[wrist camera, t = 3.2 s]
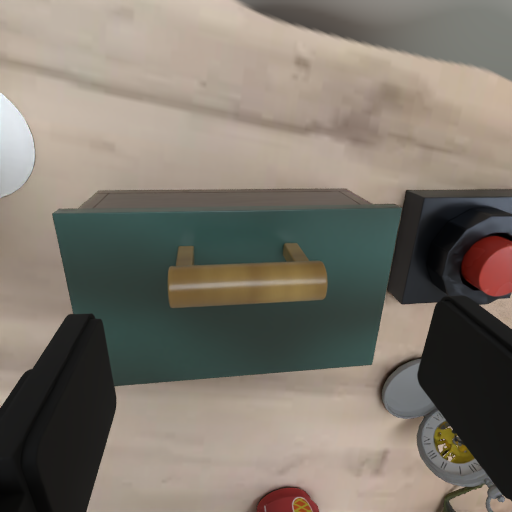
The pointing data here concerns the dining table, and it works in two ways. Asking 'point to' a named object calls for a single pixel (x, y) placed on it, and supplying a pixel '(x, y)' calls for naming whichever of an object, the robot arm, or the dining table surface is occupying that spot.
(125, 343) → the green panel
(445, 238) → the base
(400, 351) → the dining table surface
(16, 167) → the champagne flute
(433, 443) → the pocket watch
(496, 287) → the alarm button
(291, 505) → the smoothie
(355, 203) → the open brown box case
